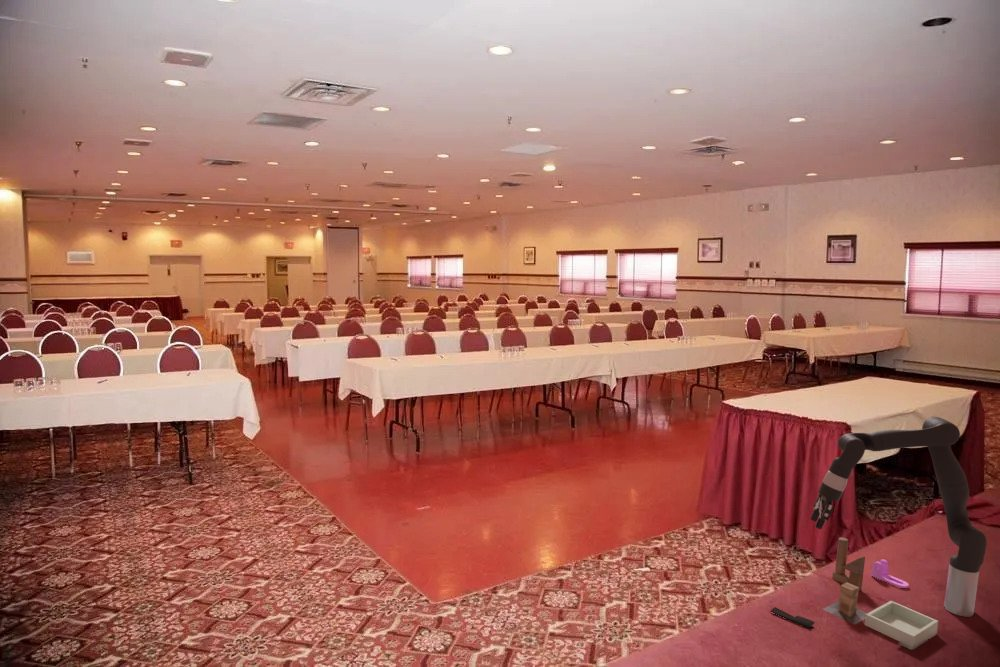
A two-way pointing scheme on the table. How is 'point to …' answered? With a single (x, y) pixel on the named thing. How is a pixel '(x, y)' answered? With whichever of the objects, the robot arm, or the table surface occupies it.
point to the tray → (902, 624)
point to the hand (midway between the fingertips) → (815, 524)
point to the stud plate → (852, 619)
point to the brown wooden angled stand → (848, 566)
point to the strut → (848, 599)
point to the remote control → (794, 618)
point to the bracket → (886, 574)
